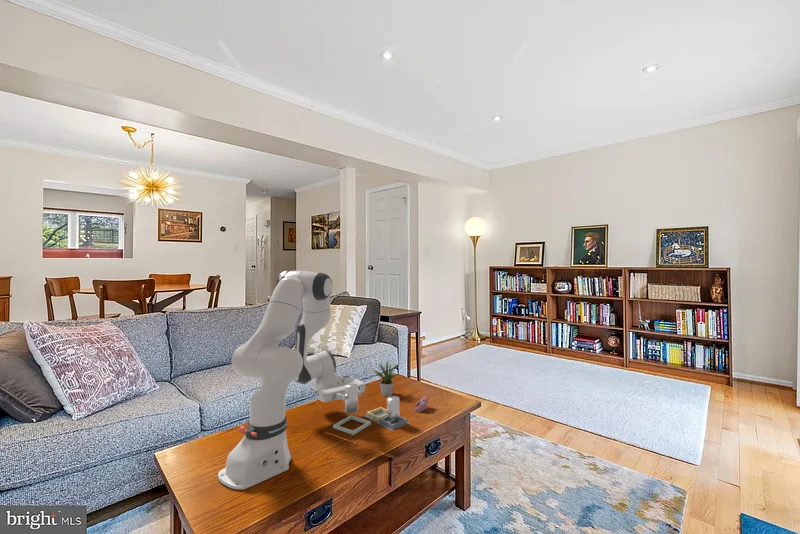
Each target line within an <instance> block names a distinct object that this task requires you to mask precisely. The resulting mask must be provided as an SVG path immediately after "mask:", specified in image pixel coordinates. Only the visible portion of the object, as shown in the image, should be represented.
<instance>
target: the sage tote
mask: <svg viewBox="0 0 800 534" xmlns="http://www.w3.org/2000/svg"><path fill="white" fill-rule="evenodd" d="M350 420H353V421H355V422H358V423H362V425H360V426H359V427H357V428H354V429H353V430H352V429H350V428H346V427H343V426H341V425H343V424H345V423H347V422H349V421H350ZM371 422H372V420H367V419H364V418H361V417H357V416H354V415H349V416H347V417H344V418H343V419H342V420H340V421H338V422H336V423H335V424H332V429H335V430H338V431H341V432H344V433H346V434H348V435H352V436H354V435H356V434H357V433H359V432H361V431H362V430H364V429H366V428H367V427H369V426H371V424H372V423H371Z"/></svg>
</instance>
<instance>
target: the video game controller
mask: <svg viewBox="0 0 800 534" xmlns="http://www.w3.org/2000/svg"><path fill="white" fill-rule="evenodd" d="M429 399H430V398H429V397H427V396H424V395H423V397H422V398H420V399H419V400H418V401H416V404H415V405H416V406H417V407H416V408H414V409H413V413H422V412H424V411H425V410H427V409H428V406H427V405H428V402H429Z"/></svg>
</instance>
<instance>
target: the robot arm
mask: <svg viewBox="0 0 800 534" xmlns="http://www.w3.org/2000/svg"><path fill="white" fill-rule="evenodd" d="M332 291H333V280H332V279H331V277H330V275H328V274H327V273H323V272H315V271H308V270H300V269H299V270H291V269H288V270H283V271H281V273H279V274H278V276H277V278H276V282H275V288H274V289H273V292H272V295H271V297H270V298H269V302H268V305H267V306H266V307H267V308H266V309H265V312H264V315H263V318H262V321H261V323H260V325H259V327H258V328H257V330H255V332H254V334H252V336H251V337H250V338H249V339H248V340H247V341H246V342H245V343H243V344H241V345H240V346H238V347H237V348H236V349H235V351H234V352H233V354H232V357H231V367H232V370H233V371H234V372H236V373H237V374H240V375H242V376H244V377H247V378H254V379H261V387H260V389H259V390H257V391H256V392H254V393H253V394H252V396H251V397H250V400H249V421H248V424H247V427H246V426H244V425H241V426H239V428H238V432H239V433H241V434H245V435H244V437H242V438H241V440H240V441H239V442H238V444H237V445H235V447H234V448H233V449H232V450H231V451H230V452H229V453H228V456H227V458H226V461H225V463H226V464H225V467H224V468H222V469H221V470H219V471H218V473H217V478H218V481H219V482H220V483H221V484H222V485H224V486H225V487H228V488H230V489H234V490H247V489H248V488H251V487H253V486H255V485H257V484H260V483H262V482H264V481H266V480H268V479H271V478H273V477H275V476H277V475H279V474H281V473H282V474H283V472H286V471H288V470H289V469H290V465H289V463H290V462H291V460H292V456H291V452H290V449H289V446H288V445H289V444H288V440H287V427H288V426H287V425H288V424H287V423H288V422H287V421H288V418H287V416H286V396H287V391H288V389H289V387H290V385H291V384H292V382H293V381H295V382H297V383H299V384H302V385H305V384H307V383H309V385H310V386H311V387H312V388H313V389H314V390H315V391H314V393H313V396H316V397H317V399H318V400H319V401H320V402H321V403H329V402H333V401H336V400H342V401H345V400H347V395H346V394H345V385H346V384H350V383H354V384H357V385H358V397H360V396H361V395H362V394H361V393H364V392H366V384H365V382H364V381H362V380H360V379H357V378H354V377H353V376H352V375H343V376H341V375H340V376H339V375H336V370H337V362H336V359H335V357H334V355H333V354H331V352H329V351H327V350H321V351H319V352H317V353H315V354H312V355H309V356H308V346H309V345H308V344H309V342H310V340H311V339H312V337H314V336H315V335H316V334H317V333H318V332H319V331H321V330H322V329H324V328H325V327H326V326H327V325H328V324H329V321H330V320H331V312H332V311H331V300H330V295H331V294H332ZM302 307H303V308H302ZM301 309H303V313H302V317H301V320H300V322H299V324H297V322H298V318H299V317H300V312H301ZM296 325H297V327H296ZM294 331H295V341H294V348H290V347H287V346H281V345H279V344H280V343H281V342H282V341H283V340H284V339H285V338H288V337H289V336H291V335H292V334H293V333H294Z"/></svg>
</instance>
